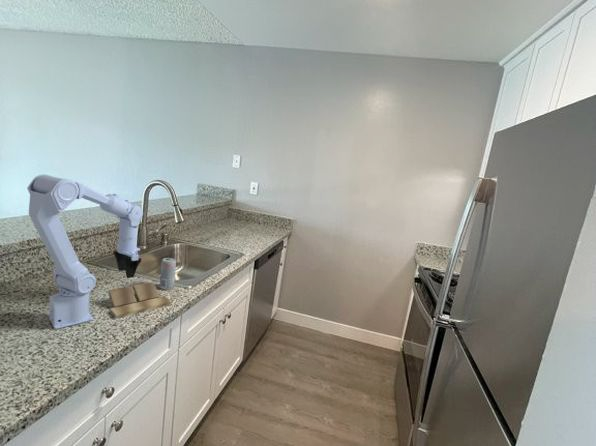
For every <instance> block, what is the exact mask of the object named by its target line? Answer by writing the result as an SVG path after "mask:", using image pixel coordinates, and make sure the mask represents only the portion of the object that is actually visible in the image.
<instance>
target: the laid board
mask: <svg viewBox="0 0 596 446" xmlns="http://www.w3.org/2000/svg"><path fill="white" fill-rule="evenodd" d="M171 305H172V301H171V300H169V298H168V297H166V296H160V297H159V298H154V299H150V300H146V301H141V302H139V301H137V303H133V304H128V305H124V306H119V307H115V308H114V307H111V308H110V309H109V312H110V313H111V314H112V315H113V317H114V318H115V319H119V318H124V317H127V316H131V315H136V314H139V313H143V312H147V311H151V310H154V309H159V308H162V307H163V308H164V307H167V306H171Z"/></svg>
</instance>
